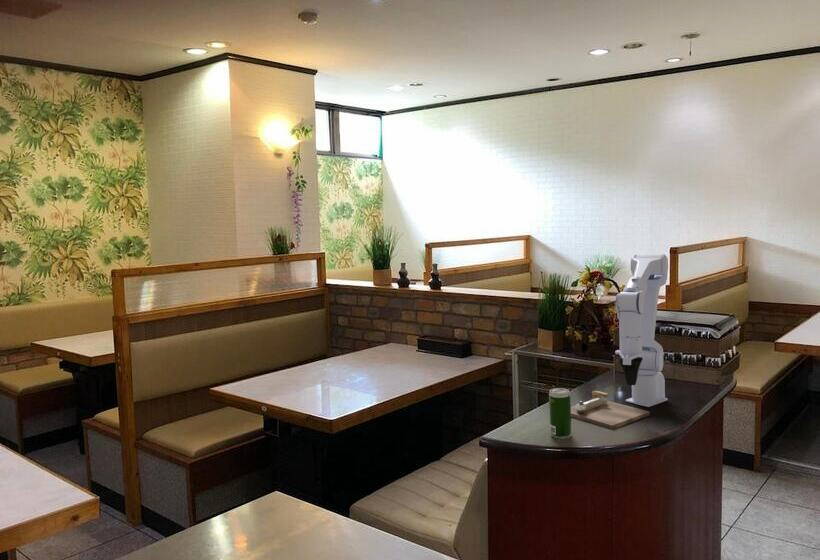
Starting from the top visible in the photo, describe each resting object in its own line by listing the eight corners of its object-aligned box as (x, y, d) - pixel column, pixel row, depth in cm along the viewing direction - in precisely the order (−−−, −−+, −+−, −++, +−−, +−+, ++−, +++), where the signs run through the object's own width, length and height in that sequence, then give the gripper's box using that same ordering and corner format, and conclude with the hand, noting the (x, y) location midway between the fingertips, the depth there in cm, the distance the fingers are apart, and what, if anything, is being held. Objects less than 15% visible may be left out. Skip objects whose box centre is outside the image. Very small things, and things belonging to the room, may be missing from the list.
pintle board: (597, 401, 196) (597, 386, 195) (649, 415, 181) (649, 399, 180) (560, 413, 187) (560, 398, 186) (612, 429, 172) (611, 412, 171)
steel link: (582, 413, 182) (581, 403, 181) (574, 411, 184) (574, 401, 183) (609, 403, 189) (608, 393, 189) (601, 401, 191) (601, 391, 191)
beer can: (561, 441, 166) (559, 395, 165) (546, 435, 170) (544, 390, 169) (576, 435, 169) (574, 390, 167) (560, 430, 173) (559, 386, 172)
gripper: (619, 329, 185) (620, 376, 187) (610, 340, 172) (611, 390, 174) (645, 330, 182) (646, 378, 184) (638, 341, 169) (639, 392, 171)
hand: (631, 384), depth 179 cm, fingers closed
